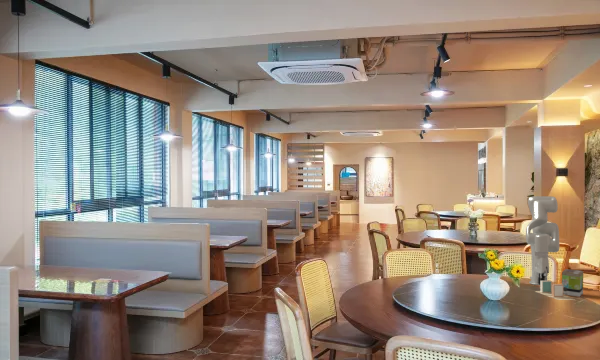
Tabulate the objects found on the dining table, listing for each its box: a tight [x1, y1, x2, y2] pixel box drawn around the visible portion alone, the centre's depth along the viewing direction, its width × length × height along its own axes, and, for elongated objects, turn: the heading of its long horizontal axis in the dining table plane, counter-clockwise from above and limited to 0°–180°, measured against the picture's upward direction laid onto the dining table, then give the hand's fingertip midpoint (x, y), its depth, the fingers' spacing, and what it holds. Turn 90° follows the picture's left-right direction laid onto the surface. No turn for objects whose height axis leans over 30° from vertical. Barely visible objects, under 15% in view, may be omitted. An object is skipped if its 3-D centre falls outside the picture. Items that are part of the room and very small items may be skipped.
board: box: [534, 290, 576, 301], centre depth 271 cm, size 22×11×1 cm, turn 5°
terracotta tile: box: [552, 283, 563, 297], centre depth 268 cm, size 2×6×7 cm, turn 95°
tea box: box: [561, 268, 584, 297], centre depth 278 cm, size 15×10×15 cm, turn 143°
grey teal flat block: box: [539, 279, 553, 293], centre depth 279 cm, size 2×6×7 cm, turn 95°
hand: (541, 284), depth 284 cm, fingers closed
